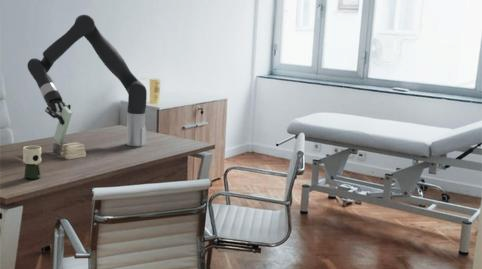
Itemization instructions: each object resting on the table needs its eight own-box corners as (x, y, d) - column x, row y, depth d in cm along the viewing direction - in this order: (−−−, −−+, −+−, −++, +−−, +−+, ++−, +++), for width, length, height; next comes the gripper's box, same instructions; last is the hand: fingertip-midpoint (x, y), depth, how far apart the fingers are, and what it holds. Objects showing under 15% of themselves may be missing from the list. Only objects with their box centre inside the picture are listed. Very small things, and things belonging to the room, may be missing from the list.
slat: (53, 137, 283) (63, 106, 274) (57, 136, 284) (66, 106, 276) (59, 143, 280) (68, 113, 272) (62, 142, 282) (72, 112, 273)
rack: (44, 153, 280) (44, 140, 279) (66, 150, 289) (66, 137, 288) (66, 161, 269) (66, 147, 268) (88, 158, 278) (88, 144, 277)
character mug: (31, 182, 236) (31, 151, 234) (16, 180, 238) (16, 149, 236) (48, 175, 246) (47, 145, 244) (33, 173, 249) (33, 143, 246)
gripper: (41, 90, 274) (56, 120, 269) (66, 88, 284) (81, 117, 279) (35, 100, 278) (49, 130, 273) (60, 97, 289) (75, 126, 284)
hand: (65, 123), depth 276 cm, fingers closed on slat, 1 cm apart
